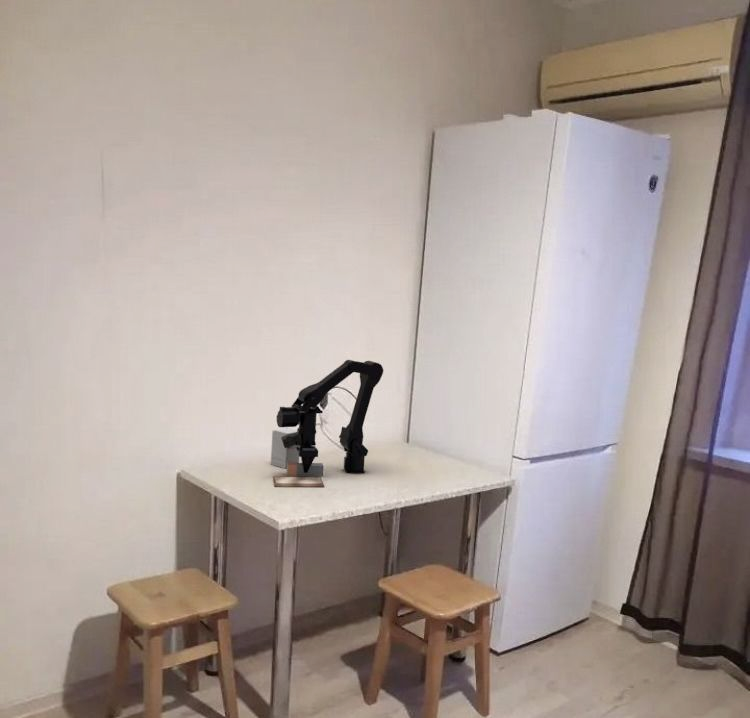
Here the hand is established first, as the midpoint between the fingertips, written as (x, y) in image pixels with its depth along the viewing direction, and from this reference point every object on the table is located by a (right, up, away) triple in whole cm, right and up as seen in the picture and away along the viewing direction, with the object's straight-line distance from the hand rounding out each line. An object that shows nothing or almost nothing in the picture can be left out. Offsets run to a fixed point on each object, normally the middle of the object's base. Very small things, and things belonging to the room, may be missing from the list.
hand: (305, 471), depth 243 cm
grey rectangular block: (0, -1, 0) cm, 1 cm away
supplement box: (-8, 0, +11) cm, 14 cm away
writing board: (-1, -2, -9) cm, 10 cm away
